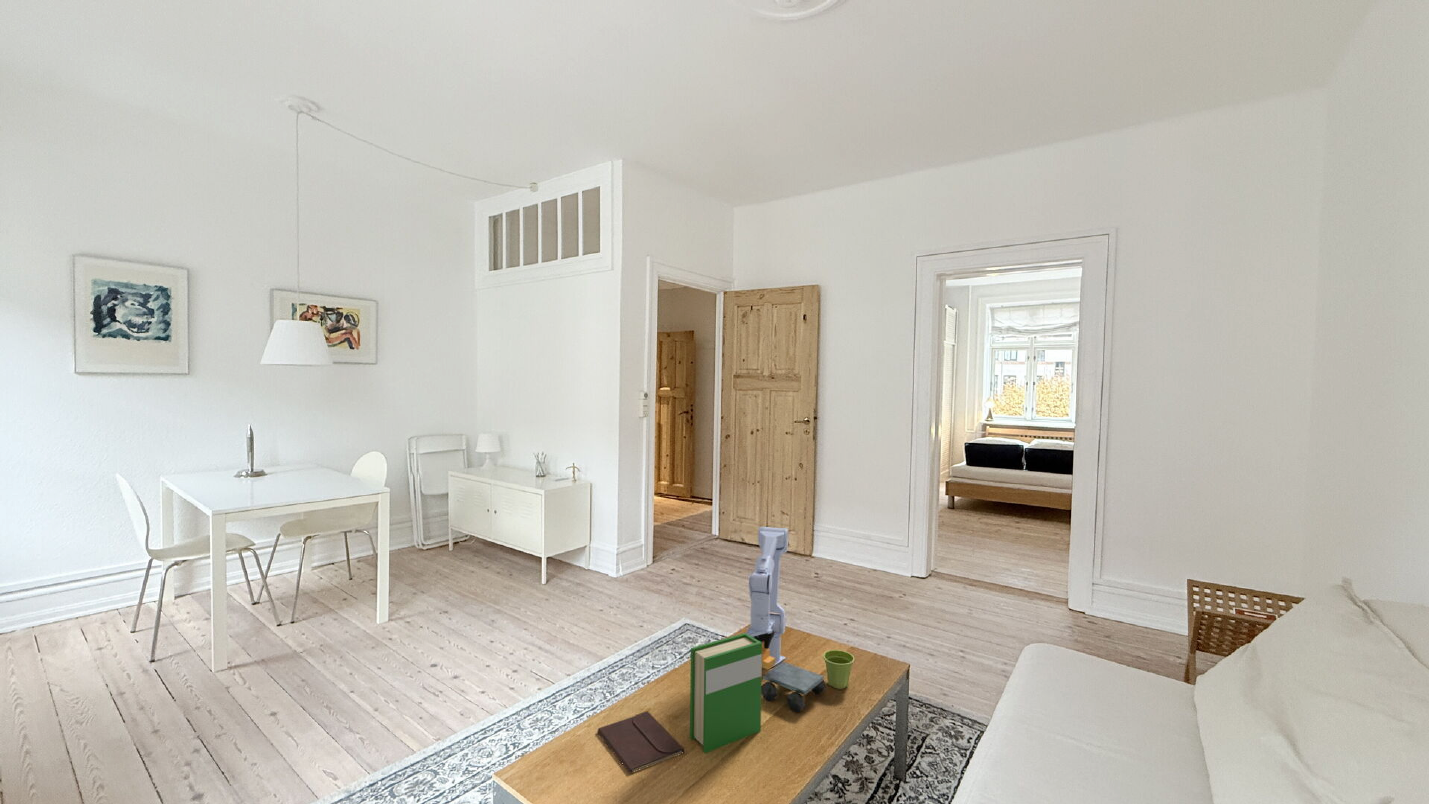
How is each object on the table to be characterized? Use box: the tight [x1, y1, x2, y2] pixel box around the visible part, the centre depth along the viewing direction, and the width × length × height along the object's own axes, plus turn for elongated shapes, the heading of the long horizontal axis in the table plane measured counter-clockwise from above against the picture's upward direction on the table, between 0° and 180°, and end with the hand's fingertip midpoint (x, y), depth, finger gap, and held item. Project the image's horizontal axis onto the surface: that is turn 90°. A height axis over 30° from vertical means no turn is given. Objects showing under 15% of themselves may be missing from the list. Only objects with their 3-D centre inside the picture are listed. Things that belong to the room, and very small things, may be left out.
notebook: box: [597, 710, 685, 774], centre depth 153 cm, size 15×20×2 cm
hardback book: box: [689, 632, 763, 754], centre depth 156 cm, size 18×7×24 cm, turn 124°
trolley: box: [761, 661, 827, 713], centre depth 176 cm, size 14×14×6 cm
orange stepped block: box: [762, 641, 776, 670], centre depth 178 cm, size 6×4×6 cm, turn 53°
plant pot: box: [823, 649, 855, 690], centre depth 183 cm, size 9×9×9 cm
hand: (759, 657), depth 179 cm, fingers closed on orange stepped block, 4 cm apart
